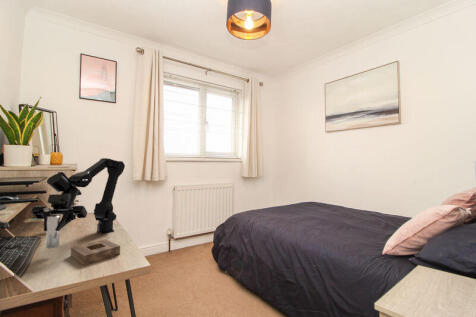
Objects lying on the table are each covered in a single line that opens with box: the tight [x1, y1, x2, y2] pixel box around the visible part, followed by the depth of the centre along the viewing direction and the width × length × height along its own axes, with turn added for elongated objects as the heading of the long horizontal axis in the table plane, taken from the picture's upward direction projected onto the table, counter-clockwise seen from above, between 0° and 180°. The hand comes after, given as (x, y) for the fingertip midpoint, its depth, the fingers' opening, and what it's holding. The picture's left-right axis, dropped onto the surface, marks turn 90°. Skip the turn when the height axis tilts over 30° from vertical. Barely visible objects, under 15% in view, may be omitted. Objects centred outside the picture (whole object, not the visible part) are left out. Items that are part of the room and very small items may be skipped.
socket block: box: [70, 239, 121, 266], centre depth 92 cm, size 13×13×4 cm
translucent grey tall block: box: [45, 214, 61, 249], centre depth 91 cm, size 4×4×12 cm
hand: (50, 230), depth 89 cm, fingers closed on translucent grey tall block, 4 cm apart
